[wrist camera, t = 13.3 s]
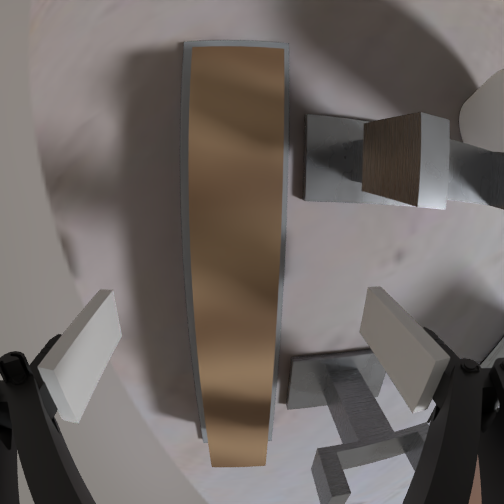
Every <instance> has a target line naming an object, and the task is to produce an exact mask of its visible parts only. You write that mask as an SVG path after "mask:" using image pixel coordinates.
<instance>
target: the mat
mask: <svg viewBox="0 0 504 504" xmlns="http://www.w3.org/2000/svg"><path fill="white" fill-rule="evenodd" d="M206 46H247V47H268V48H281V49H284V155H283V193H282V222H281V247H280V269H279V289H278V307H277V324H276V340H275V355H274V369H273V383H272V396H271V408H270V420H269V432H268V441H272V431H273V420H274V410H275V399H276V387H277V375H278V362H279V349H280V334H281V319H282V303H283V286H284V267H285V246H286V222H287V193H288V154H289V43H280V42H266V41H241V40H215V41H190V42H184V50H183V66H182V86H181V115H180V198H181V229H182V250H183V267H184V282H185V296H186V308H187V319H188V330H189V340H190V349H191V358H192V367H193V375H194V383H195V390H196V398H197V405H198V411H199V418H200V425H201V431H202V437H203V443H208V438H207V431H206V424H205V416H204V408H203V400H202V392H201V383H200V374H199V364H198V354H197V343H196V331H195V319H194V305H193V290H192V273H191V253H190V227H189V168H188V160H189V103H190V78H191V59H192V47H206Z"/></svg>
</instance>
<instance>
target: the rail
mask: <svg viewBox="0 0 504 504" xmlns="http://www.w3.org/2000/svg"><path fill="white" fill-rule="evenodd" d="M283 155H284V49H281V48H268V47H247V46H206V47H192V59H191V78H190V103H189V160H188V168H189V227H190V253H191V273H192V290H193V305H194V319H195V331H196V343H197V354H198V364H199V374H200V383H201V392H202V400H203V408H204V416H205V424H206V431H207V438H208V445H209V452H210V458H211V464H212V467H250V466H265V464H266V454H267V443H268V432H269V420H270V408H271V396H272V383H273V369H274V355H275V340H276V324H277V307H278V289H279V269H280V247H281V222H282V193H283Z"/></svg>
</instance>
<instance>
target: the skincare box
mask: <svg viewBox="0 0 504 504" xmlns="http://www.w3.org/2000/svg"><path fill="white" fill-rule="evenodd" d="M498 358H504V337H503V338H502V340H501V341H500V342H499V343H498V345H497V346H496V347H495V348H494V350H493V351H492V352H491V353H490V354H489V356H488V357H487V358H486V359H485V360H484V361H483V363H482V364H481V365H480V366H481V368H492V366H493V364H494V362H495V360H496V359H498Z"/></svg>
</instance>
